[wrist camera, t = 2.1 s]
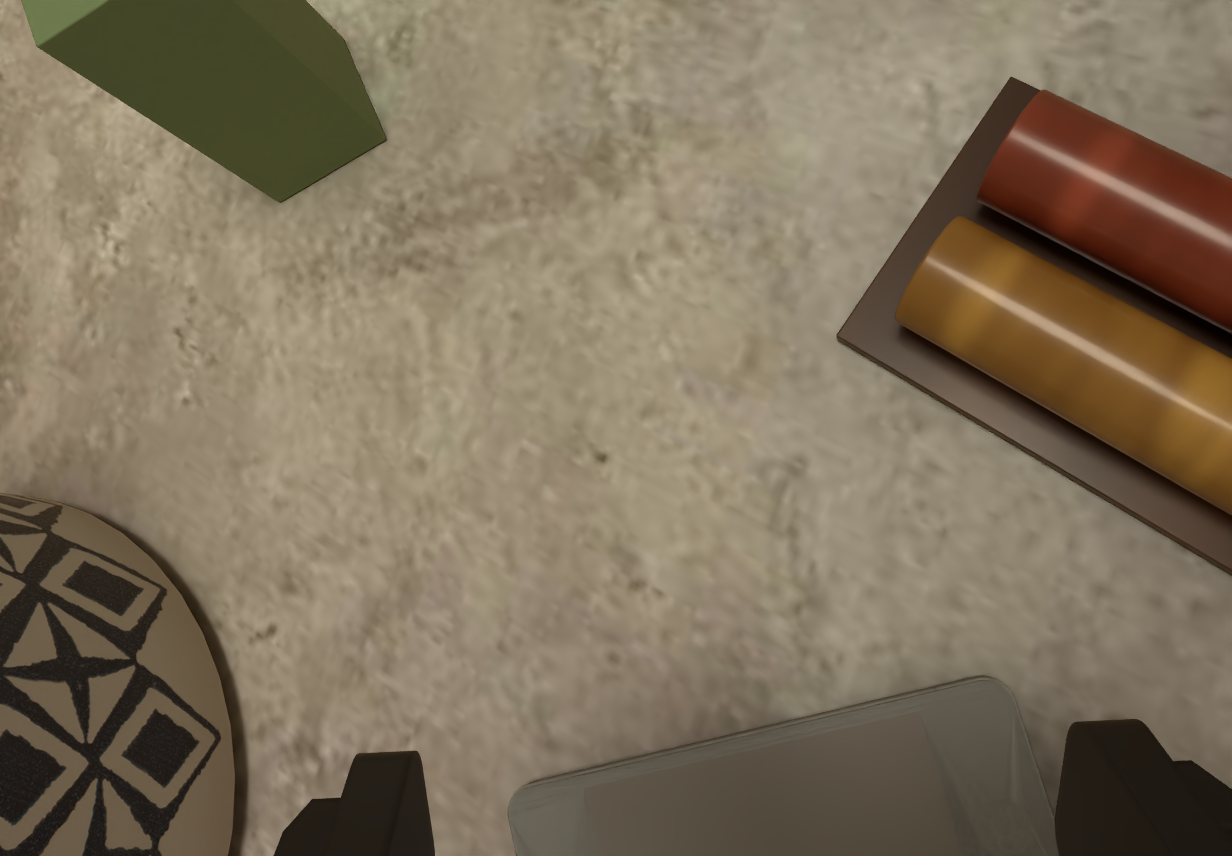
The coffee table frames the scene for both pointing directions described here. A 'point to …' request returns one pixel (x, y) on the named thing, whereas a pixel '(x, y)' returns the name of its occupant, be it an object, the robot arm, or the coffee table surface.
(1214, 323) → the rod rack
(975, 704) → the phone
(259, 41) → the green bar
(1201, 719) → the coffee table surface
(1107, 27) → the coffee table surface
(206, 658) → the planter
